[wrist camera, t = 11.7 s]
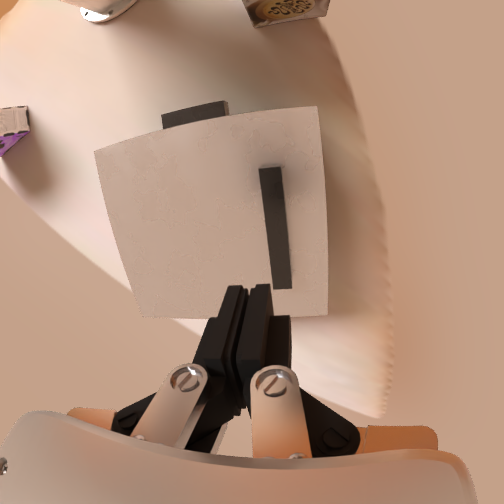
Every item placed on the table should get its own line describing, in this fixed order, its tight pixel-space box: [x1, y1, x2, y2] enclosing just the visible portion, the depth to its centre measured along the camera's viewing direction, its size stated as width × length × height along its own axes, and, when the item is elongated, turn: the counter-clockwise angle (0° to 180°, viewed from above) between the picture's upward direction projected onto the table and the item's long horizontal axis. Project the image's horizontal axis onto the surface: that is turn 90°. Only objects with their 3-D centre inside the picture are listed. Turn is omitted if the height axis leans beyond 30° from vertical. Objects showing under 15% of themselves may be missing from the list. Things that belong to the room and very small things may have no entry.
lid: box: [94, 106, 328, 319], centre depth 23 cm, size 19×20×3 cm
